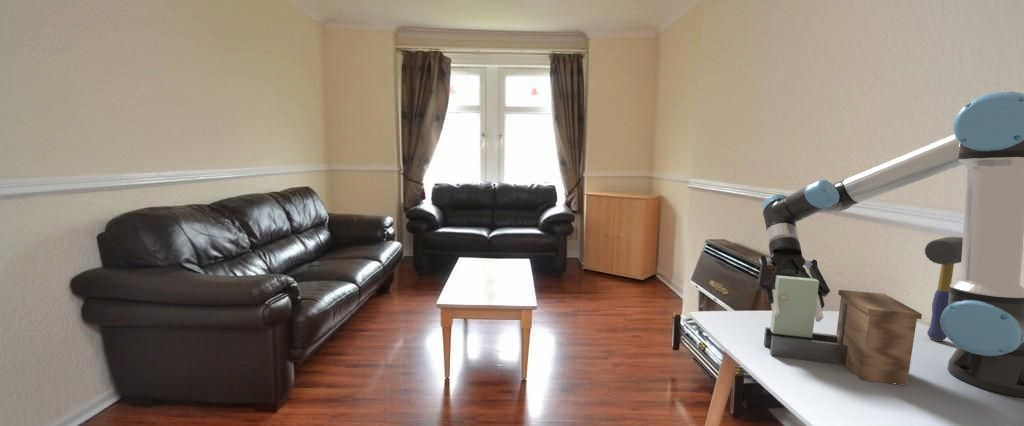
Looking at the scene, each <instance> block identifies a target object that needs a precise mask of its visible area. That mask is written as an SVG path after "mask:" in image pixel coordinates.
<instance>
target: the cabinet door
mask: <svg viewBox="0 0 1024 426" xmlns="http://www.w3.org/2000/svg"><path fill="white" fill-rule="evenodd" d="M818 287H819V281H818V280H816V279H813V278H812V277H811V278H800V277H796V276H788V275H787V276H786V275H779V276H777V275H776V282H775V284H774V290H776V294H777V300H778V306H779V312H780V313H779V314H778V315H777V317H773V313H772V312H771V318H770V320H771V322H770V327H769V328H770V330H771V331H772V333H774V334H783V335H791V336H800V337H809V338H812V335H813V333H814V326H815V320H816V319H815V310H816V302H817V295H818Z"/></svg>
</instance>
